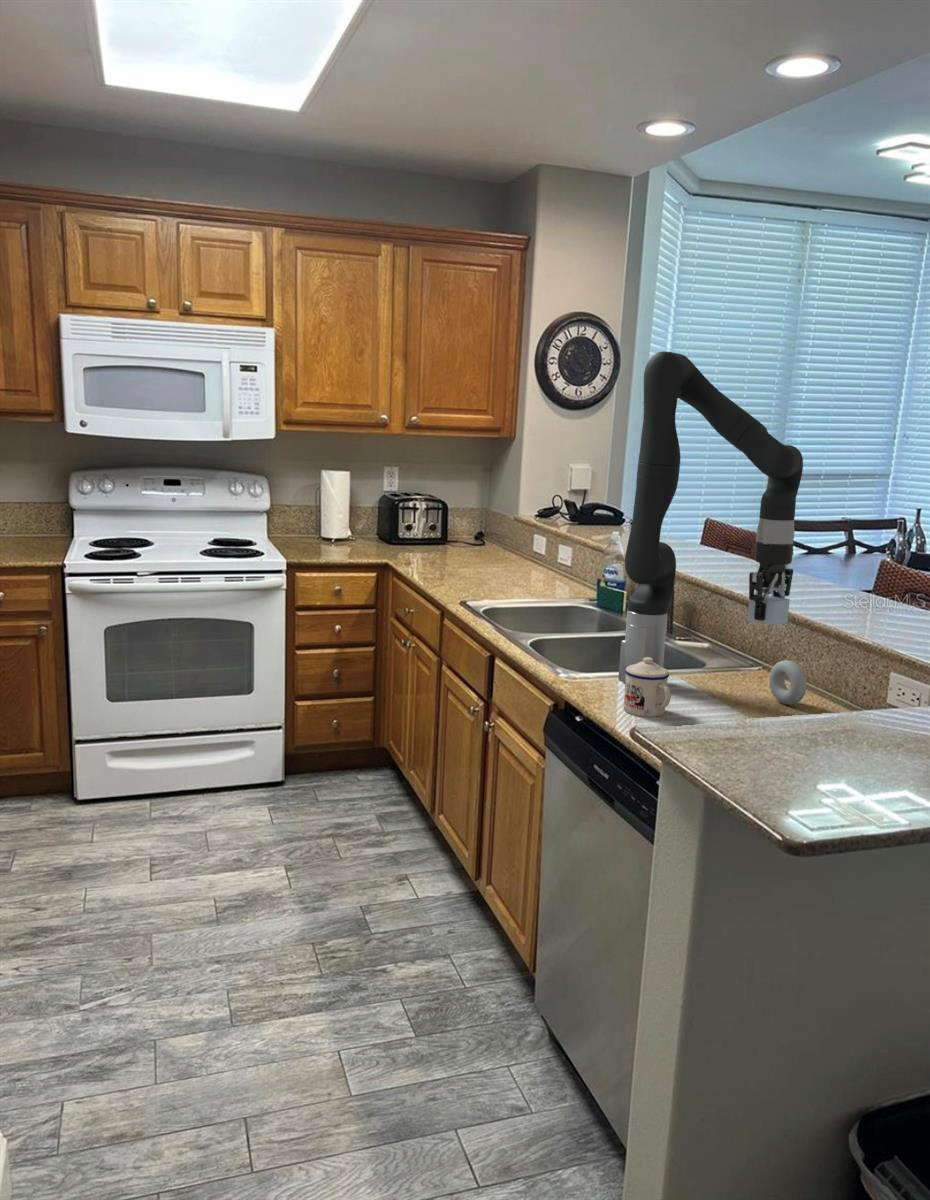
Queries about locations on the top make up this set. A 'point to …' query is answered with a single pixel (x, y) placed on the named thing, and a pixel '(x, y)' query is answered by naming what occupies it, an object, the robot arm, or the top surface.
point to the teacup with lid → (646, 689)
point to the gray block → (771, 611)
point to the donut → (796, 682)
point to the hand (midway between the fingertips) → (767, 617)
